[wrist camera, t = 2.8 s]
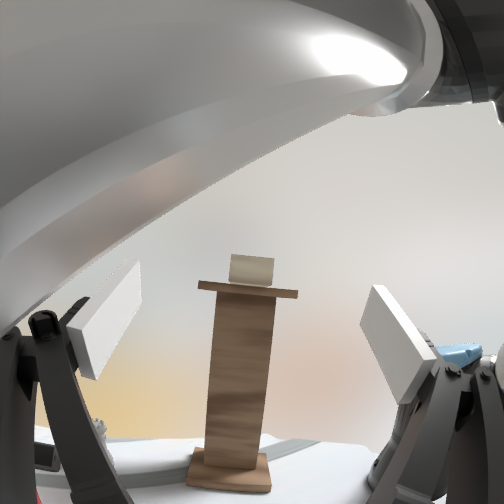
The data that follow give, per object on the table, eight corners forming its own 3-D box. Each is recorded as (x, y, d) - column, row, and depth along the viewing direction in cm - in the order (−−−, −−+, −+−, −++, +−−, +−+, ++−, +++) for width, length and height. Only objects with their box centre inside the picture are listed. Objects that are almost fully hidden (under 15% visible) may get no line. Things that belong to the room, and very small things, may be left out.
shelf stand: (270, 492, 31) (298, 290, 35) (186, 484, 30) (198, 280, 35) (264, 459, 40) (285, 291, 45) (194, 453, 40) (207, 283, 45)
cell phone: (-11, 433, 23) (-12, 429, 23) (62, 449, 30) (61, 446, 30) (-22, 454, 17) (-23, 450, 17) (59, 474, 23) (59, 471, 24)
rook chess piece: (82, 466, 27) (75, 423, 29) (92, 453, 32) (88, 412, 33) (109, 475, 28) (104, 432, 29) (117, 461, 32) (114, 420, 33)
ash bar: (271, 285, 27) (274, 258, 27) (228, 281, 27) (231, 254, 27) (258, 289, 47) (260, 273, 47) (233, 286, 47) (235, 271, 47)
